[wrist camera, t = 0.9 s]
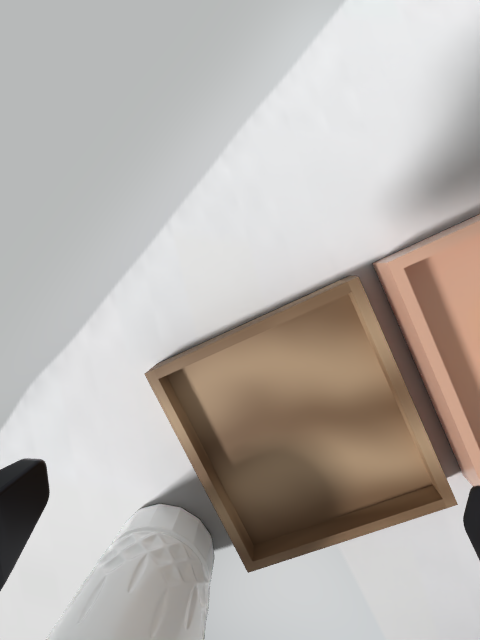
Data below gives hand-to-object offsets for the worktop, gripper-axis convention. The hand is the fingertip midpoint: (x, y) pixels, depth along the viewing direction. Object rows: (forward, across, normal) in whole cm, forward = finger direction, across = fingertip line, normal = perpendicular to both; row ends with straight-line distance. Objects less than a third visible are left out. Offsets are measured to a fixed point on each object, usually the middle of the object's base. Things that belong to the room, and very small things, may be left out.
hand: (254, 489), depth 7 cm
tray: (+13, -3, +6) cm, 14 cm away
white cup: (+12, +5, +16) cm, 21 cm away
